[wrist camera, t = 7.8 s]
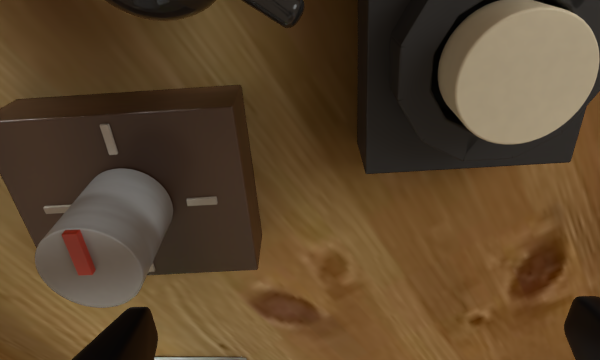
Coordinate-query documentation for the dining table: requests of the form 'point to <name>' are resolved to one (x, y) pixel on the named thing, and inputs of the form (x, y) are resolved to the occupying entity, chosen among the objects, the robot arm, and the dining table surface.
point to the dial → (106, 239)
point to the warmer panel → (142, 166)
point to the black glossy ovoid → (184, 3)
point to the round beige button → (518, 70)
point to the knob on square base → (435, 92)
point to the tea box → (197, 358)
